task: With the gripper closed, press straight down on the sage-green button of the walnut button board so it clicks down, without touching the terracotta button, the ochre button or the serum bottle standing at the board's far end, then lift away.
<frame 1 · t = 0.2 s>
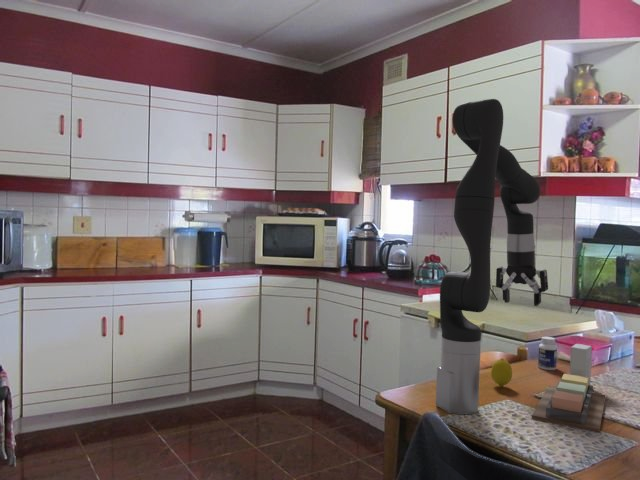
hand: (521, 303, 154), 22 cm above the table, tool pointing down, fingers open, 8 cm apart
pad sage: (571, 392, 132), point 4 cm above the table, slide at 0.0 cm
pill bottle: (546, 368, 169), on the table
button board: (570, 407, 132), on the table
pad ochre: (574, 383, 140), point 4 cm above the table, slide at 0.0 cm
lemon: (501, 387, 148), on the table
pad terracotta: (567, 402, 124), point 4 cm above the table, slide at 0.0 cm
skincare box: (579, 389, 148), on the table
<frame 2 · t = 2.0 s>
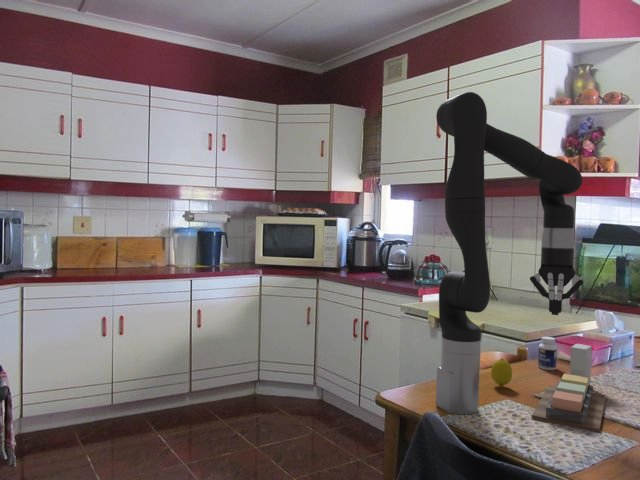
hand: (555, 314, 134), 23 cm above the table, tool pointing down, fingers closed
nothing on the table moved.
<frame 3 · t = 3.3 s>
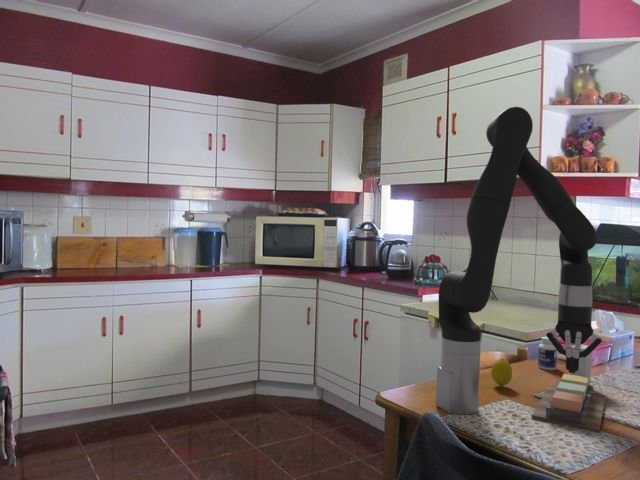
hand: (572, 372, 132), 9 cm above the table, tool pointing down, fingers closed
nothing on the table moved.
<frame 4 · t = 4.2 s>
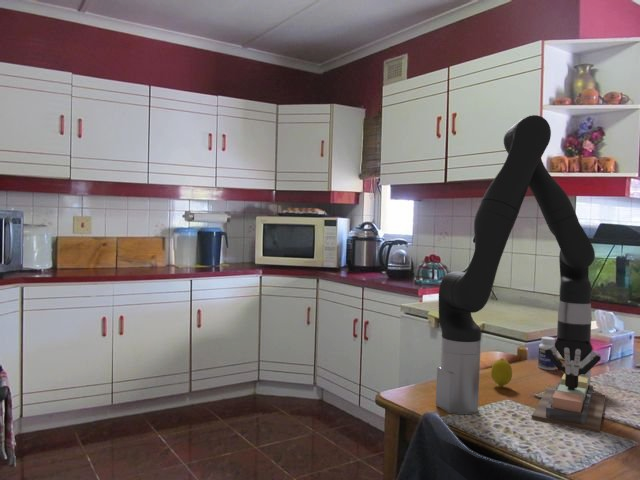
hand: (571, 388, 132), 5 cm above the table, tool pointing down, fingers closed
pad sage: (571, 395, 132), point 3 cm above the table, slide at -0.7 cm, touching gripper
everything else where it was.
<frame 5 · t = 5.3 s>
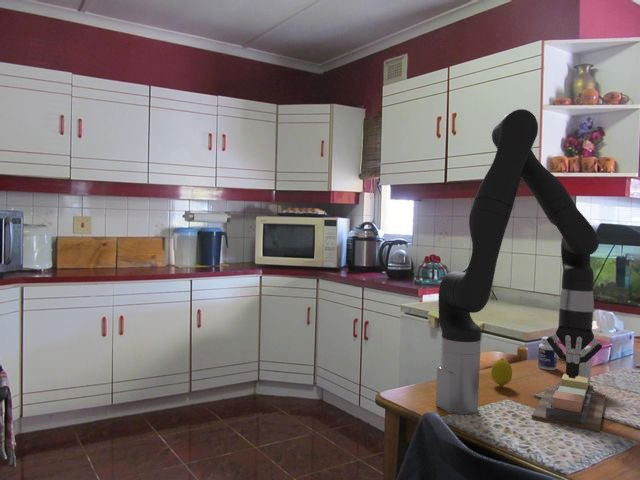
hand: (572, 377, 131), 8 cm above the table, tool pointing down, fingers closed
pad sage: (571, 396, 132), point 3 cm above the table, slide at -1.1 cm
everything else where it was.
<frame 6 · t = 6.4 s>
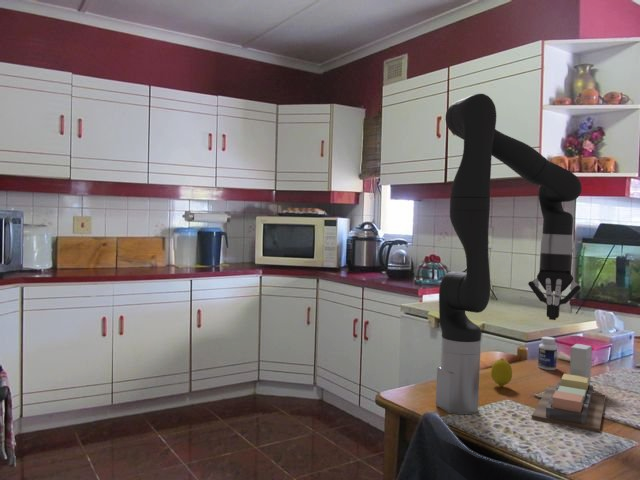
hand: (552, 319, 136), 21 cm above the table, tool pointing down, fingers closed
nothing on the table moved.
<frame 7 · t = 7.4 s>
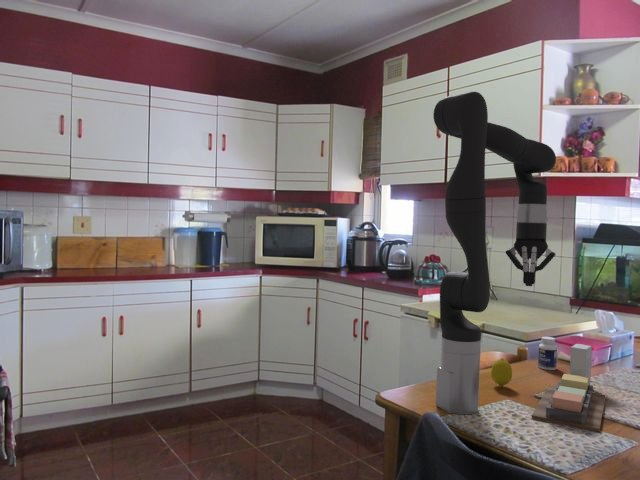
hand: (529, 285, 142), 29 cm above the table, tool pointing down, fingers closed
nothing on the table moved.
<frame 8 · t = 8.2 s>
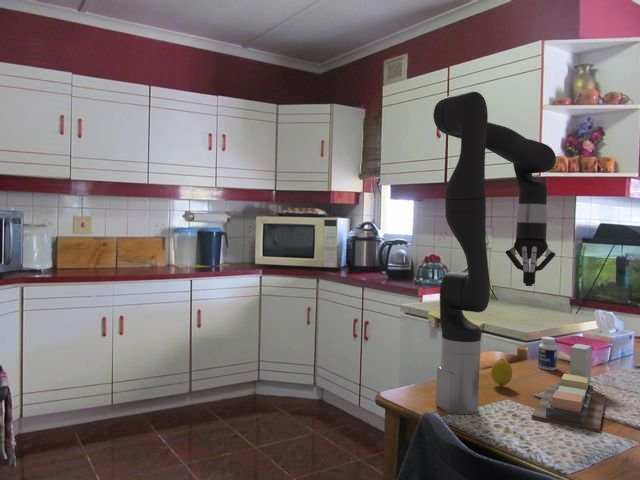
hand: (529, 285, 142), 29 cm above the table, tool pointing down, fingers closed
nothing on the table moved.
at the end: pad sage slide at -1.1 cm; pad terracotta slide at 0.0 cm; pad ochre slide at 0.0 cm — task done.
